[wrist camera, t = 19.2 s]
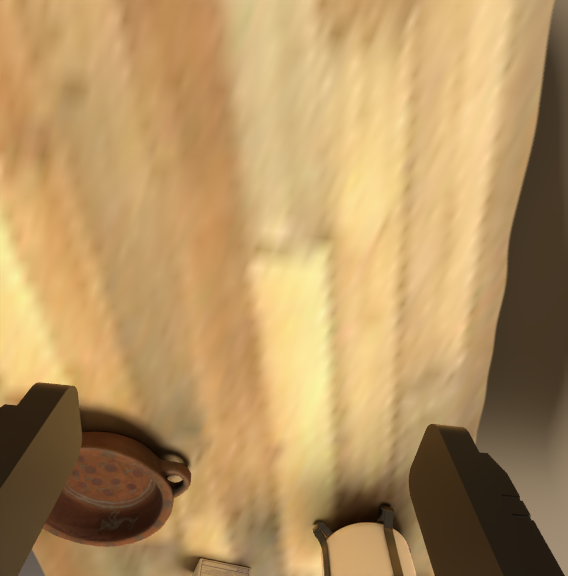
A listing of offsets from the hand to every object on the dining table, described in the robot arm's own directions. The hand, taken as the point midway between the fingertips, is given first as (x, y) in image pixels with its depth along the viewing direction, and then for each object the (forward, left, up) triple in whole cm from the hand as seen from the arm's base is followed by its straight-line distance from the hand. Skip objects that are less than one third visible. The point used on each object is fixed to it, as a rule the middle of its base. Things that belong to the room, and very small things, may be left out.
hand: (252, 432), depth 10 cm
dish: (-16, -40, -30) cm, 53 cm away
